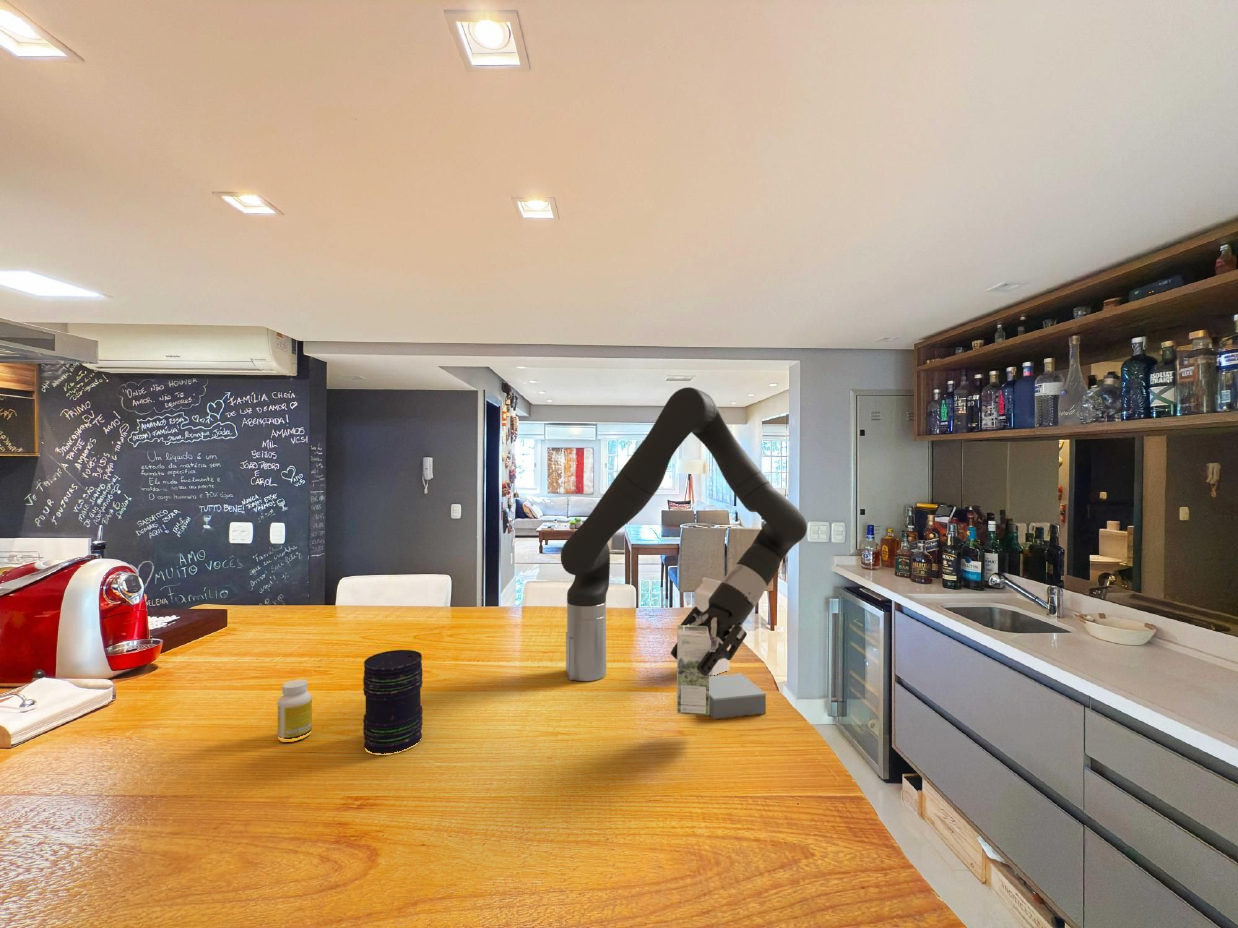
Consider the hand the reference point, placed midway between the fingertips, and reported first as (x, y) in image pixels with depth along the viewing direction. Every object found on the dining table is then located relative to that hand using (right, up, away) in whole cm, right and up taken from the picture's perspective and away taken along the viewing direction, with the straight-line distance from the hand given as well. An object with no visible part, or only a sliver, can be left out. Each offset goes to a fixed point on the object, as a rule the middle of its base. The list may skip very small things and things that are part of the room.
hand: (687, 664), depth 100 cm
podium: (+10, -14, +15) cm, 23 cm away
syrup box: (+1, -8, +1) cm, 9 cm away
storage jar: (-53, -14, 0) cm, 55 cm away
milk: (+10, -14, +34) cm, 38 cm away
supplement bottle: (-72, -14, +2) cm, 73 cm away
